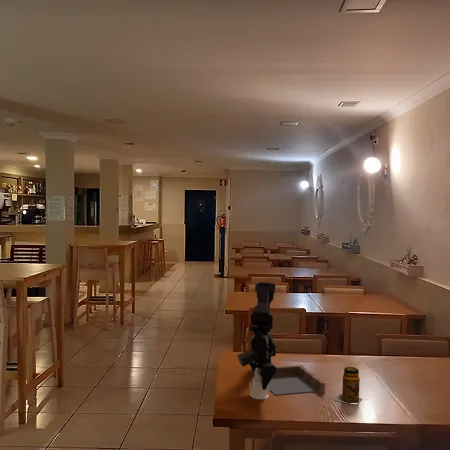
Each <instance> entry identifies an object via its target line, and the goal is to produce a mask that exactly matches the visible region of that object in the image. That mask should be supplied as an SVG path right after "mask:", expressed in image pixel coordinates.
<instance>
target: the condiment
mask: <svg viewBox="0 0 450 450" xmlns="http://www.w3.org/2000/svg"><path fill="white" fill-rule="evenodd" d="M359 372H360V371H359V368H357V367H354V366H345V367H344V369H343V375H342V393H339V394H338V395H337V397H336V398H335V399H334V400H333V401H335V402H339V403H344V402H346V403H344V404H347V403H358V404H357V406H358V405H359V404H360V403H361V401H362V399H363V398H361V397H360V381H361V380H360V376H359V374H360V373H359ZM342 401H344V402H342Z"/></svg>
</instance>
